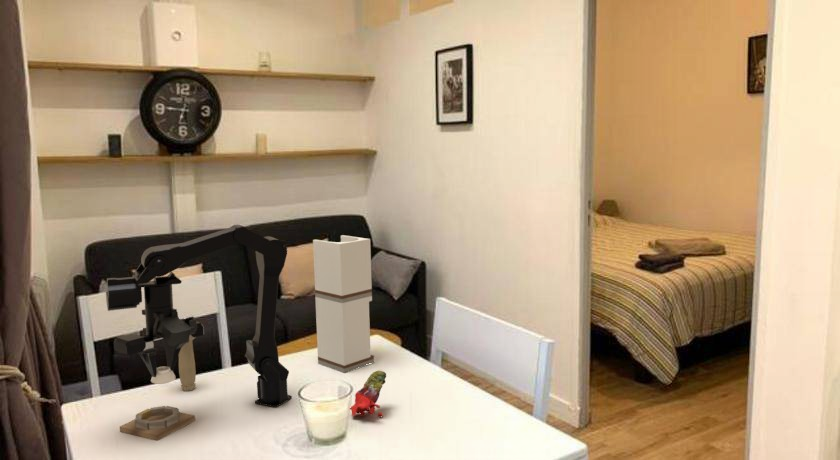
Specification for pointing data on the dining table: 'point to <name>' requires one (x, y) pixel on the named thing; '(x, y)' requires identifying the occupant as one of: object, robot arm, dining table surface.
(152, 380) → the white jar
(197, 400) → the dining table surface
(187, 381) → the handle
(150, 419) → the hub plate
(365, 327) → the stacked square vase
